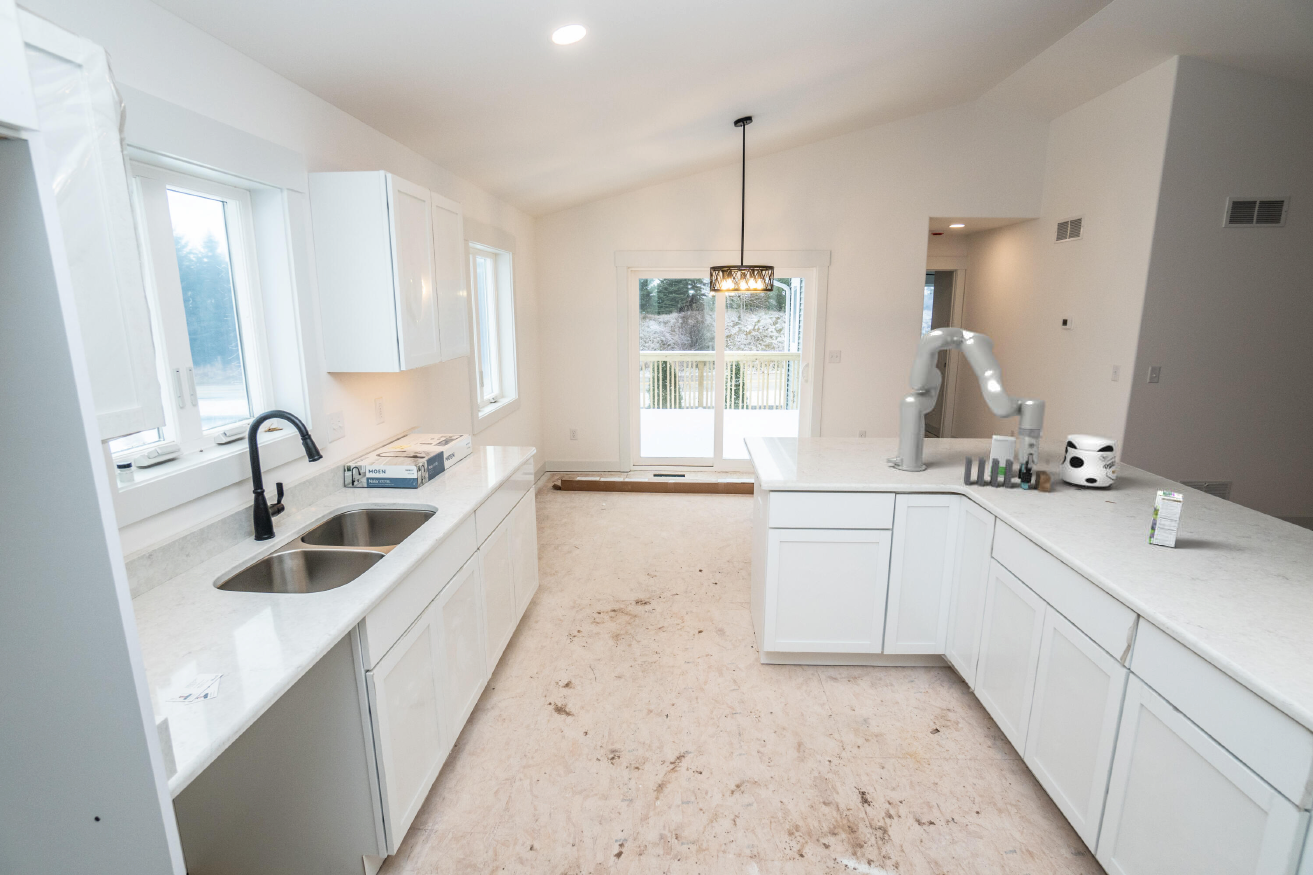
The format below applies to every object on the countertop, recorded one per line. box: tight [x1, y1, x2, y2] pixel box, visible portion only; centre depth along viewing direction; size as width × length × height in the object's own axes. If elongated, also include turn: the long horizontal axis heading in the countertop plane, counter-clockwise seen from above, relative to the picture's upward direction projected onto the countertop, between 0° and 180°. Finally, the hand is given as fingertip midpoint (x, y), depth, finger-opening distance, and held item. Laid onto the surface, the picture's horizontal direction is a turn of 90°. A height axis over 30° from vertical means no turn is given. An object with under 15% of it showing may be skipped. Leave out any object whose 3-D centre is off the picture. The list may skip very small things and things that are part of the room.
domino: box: [1019, 462, 1029, 490], centre depth 226 cm, size 2×5×10 cm, turn 160°
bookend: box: [1034, 470, 1052, 494], centre depth 224 cm, size 3×8×6 cm, turn 160°
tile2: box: [976, 456, 987, 487], centre depth 231 cm, size 2×5×10 cm, turn 160°
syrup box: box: [1148, 490, 1184, 548], centre depth 171 cm, size 6×6×14 cm
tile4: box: [1002, 459, 1014, 489], centre depth 228 cm, size 2×5×10 cm, turn 160°
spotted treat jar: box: [1059, 433, 1118, 489], centre depth 228 cm, size 17×17×18 cm
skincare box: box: [987, 435, 1017, 478], centre depth 243 cm, size 8×7×16 cm
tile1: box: [963, 456, 973, 486], centre depth 232 cm, size 2×5×10 cm, turn 160°
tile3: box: [989, 458, 1000, 489], centre depth 229 cm, size 2×5×10 cm, turn 160°
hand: (1024, 480), depth 226 cm, fingers closed on domino, 4 cm apart
